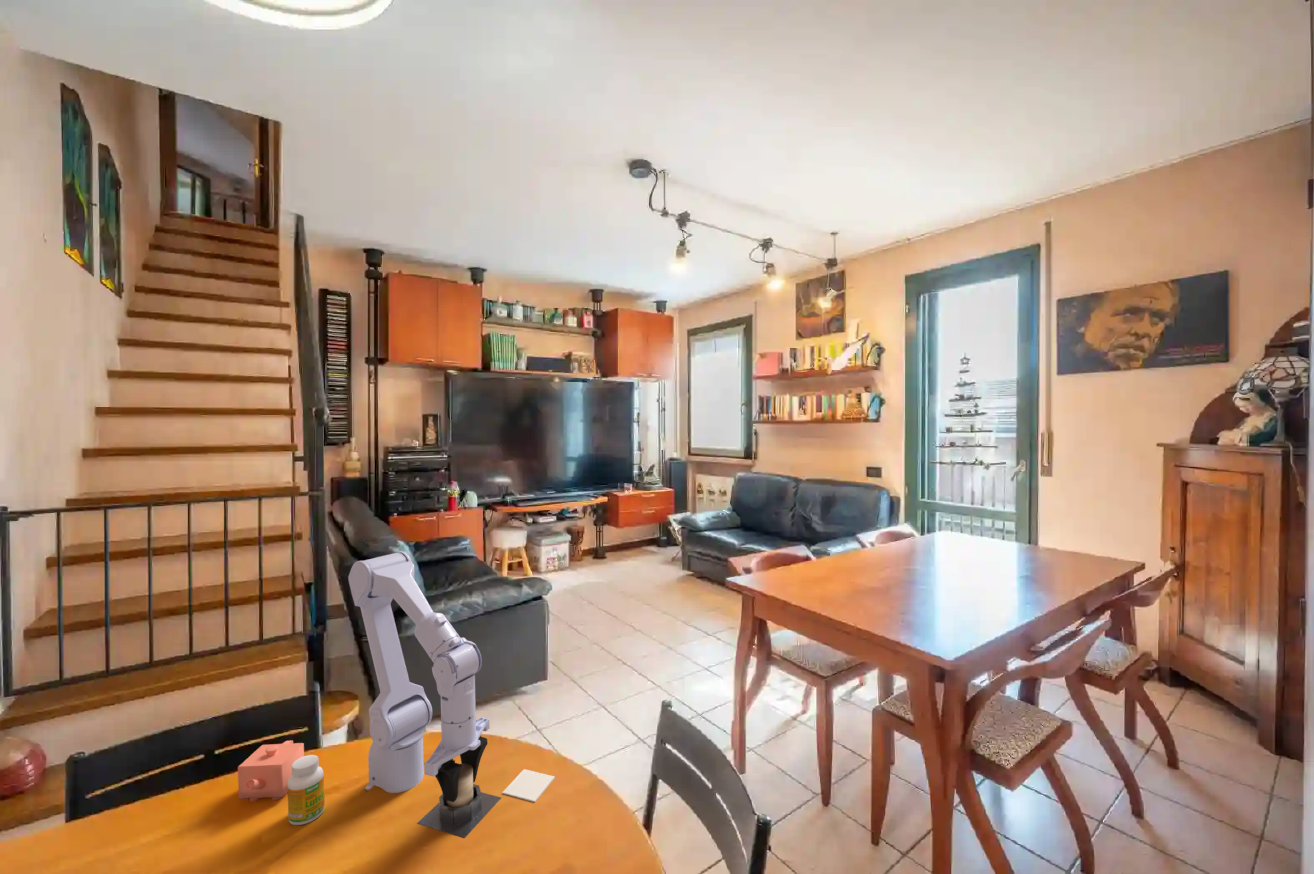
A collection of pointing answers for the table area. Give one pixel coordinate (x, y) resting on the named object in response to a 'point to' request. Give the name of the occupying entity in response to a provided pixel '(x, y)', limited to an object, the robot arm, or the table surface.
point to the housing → (460, 814)
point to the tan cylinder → (464, 788)
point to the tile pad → (529, 785)
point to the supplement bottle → (305, 790)
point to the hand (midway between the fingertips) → (460, 790)
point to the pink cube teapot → (268, 771)
